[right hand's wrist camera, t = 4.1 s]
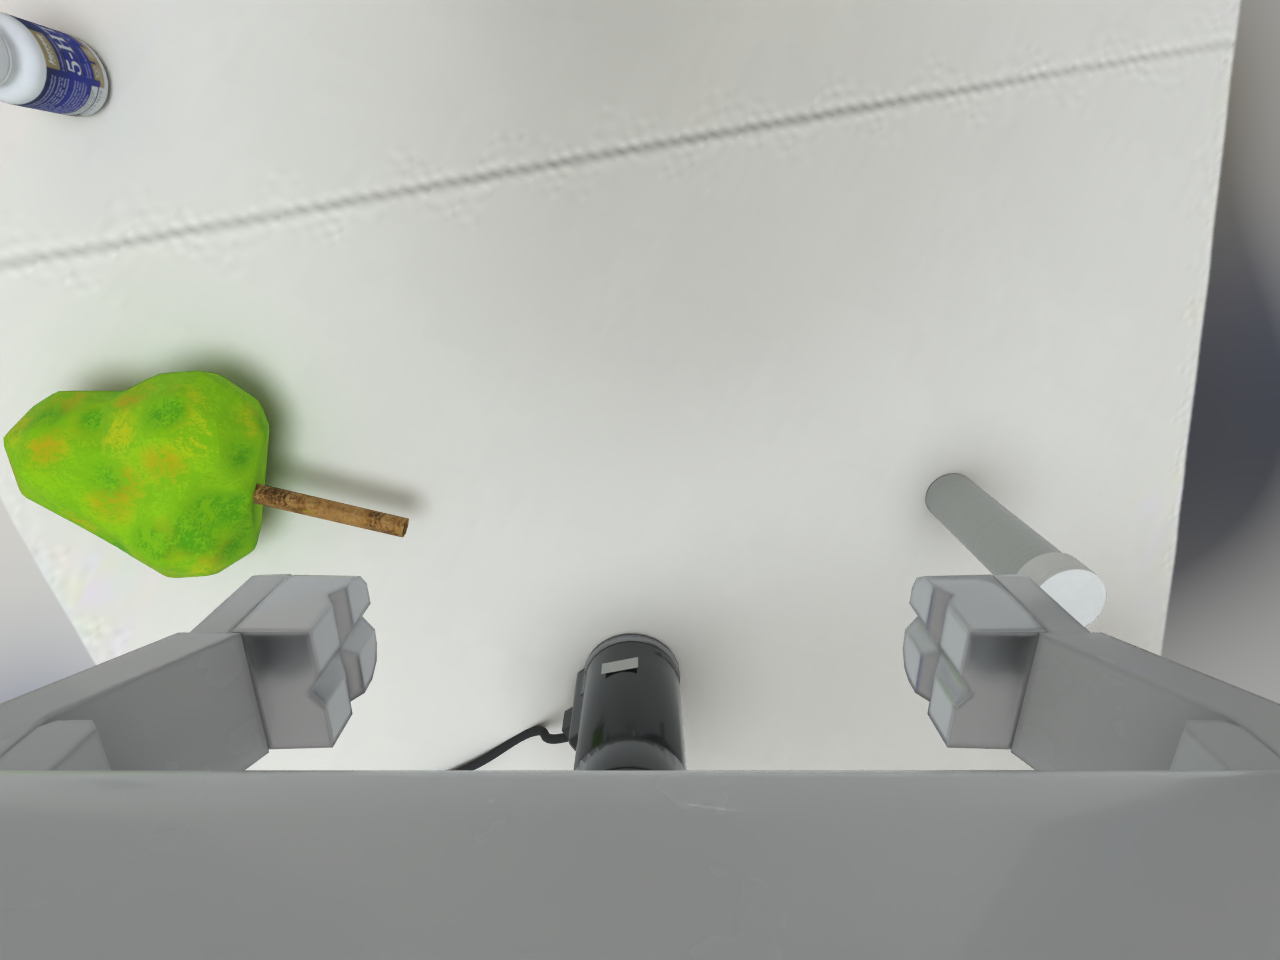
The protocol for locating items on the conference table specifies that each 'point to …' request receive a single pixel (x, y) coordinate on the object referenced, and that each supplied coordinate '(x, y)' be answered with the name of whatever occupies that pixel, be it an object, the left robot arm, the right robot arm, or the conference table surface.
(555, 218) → the conference table surface
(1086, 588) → the lid
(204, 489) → the decorative tree
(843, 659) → the conference table surface
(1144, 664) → the right robot arm
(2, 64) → the pill bottle
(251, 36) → the conference table surface
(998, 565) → the grey cylinder
